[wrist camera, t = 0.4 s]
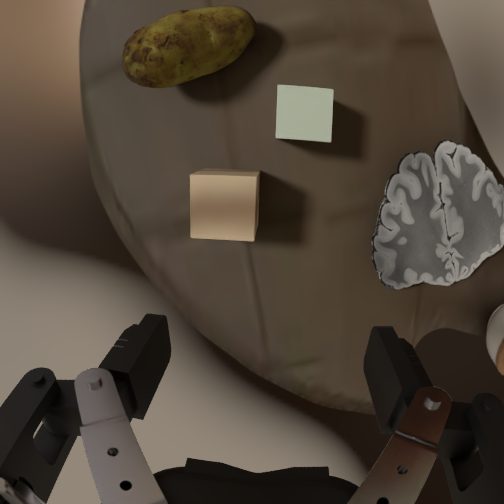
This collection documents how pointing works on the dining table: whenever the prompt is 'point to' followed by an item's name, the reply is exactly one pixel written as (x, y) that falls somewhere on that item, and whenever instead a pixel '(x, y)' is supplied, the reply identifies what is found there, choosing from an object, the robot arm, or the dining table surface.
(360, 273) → the dining table surface
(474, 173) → the brain slice
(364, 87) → the dining table surface
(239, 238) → the oak block
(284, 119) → the sage block
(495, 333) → the lidded jar
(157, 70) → the potato
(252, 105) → the dining table surface
